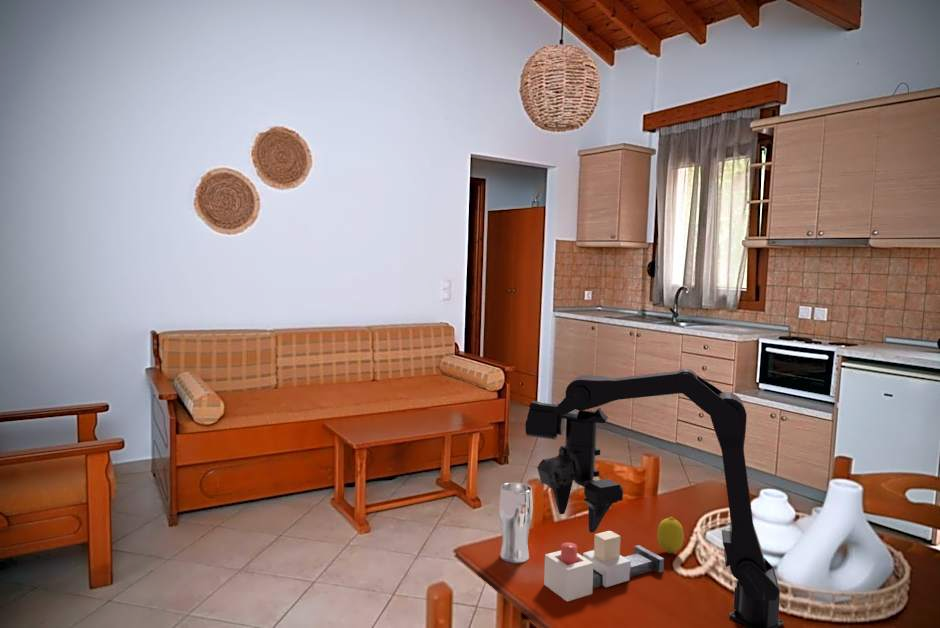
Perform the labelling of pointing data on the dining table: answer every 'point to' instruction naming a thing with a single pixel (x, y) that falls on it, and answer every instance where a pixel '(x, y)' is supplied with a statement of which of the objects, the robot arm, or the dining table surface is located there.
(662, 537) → the lemon
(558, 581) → the white open box
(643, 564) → the rail
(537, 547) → the dining table surface
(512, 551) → the beer glass
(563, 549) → the red cylinder
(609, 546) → the carriage
